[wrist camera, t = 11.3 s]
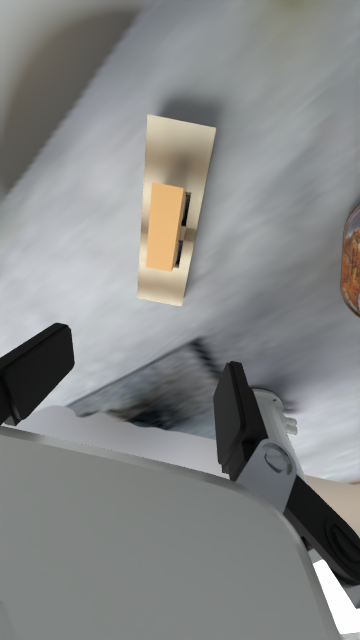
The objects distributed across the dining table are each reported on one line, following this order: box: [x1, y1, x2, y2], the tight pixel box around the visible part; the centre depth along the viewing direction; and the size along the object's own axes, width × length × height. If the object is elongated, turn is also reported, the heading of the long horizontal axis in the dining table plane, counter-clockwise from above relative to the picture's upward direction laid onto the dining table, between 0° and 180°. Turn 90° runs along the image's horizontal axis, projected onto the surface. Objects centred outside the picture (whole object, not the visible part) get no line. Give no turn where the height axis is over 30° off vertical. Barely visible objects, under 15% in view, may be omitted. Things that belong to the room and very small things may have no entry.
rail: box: [137, 114, 216, 306], centre depth 24 cm, size 20×7×3 cm, turn 170°
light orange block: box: [146, 182, 187, 272], centre depth 22 cm, size 8×3×8 cm, turn 170°
